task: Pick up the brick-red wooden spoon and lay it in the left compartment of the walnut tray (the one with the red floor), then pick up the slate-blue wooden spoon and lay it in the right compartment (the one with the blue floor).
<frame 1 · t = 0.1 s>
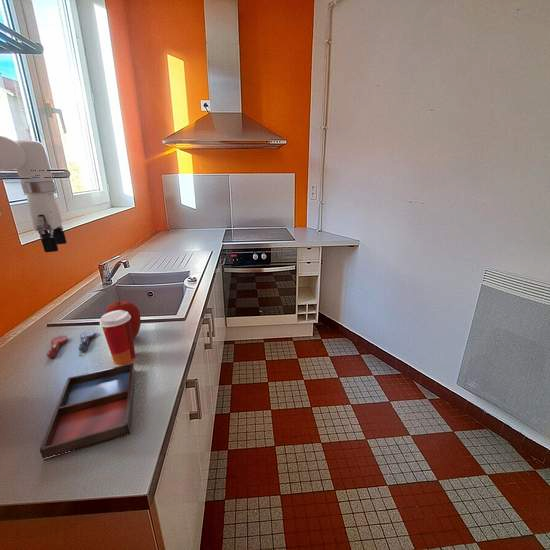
hand: (56, 247, 90), 29 cm above the worktop, tool pointing down, fingers open, 9 cm apart
paper cup: (124, 359, 86), on the worktop
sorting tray: (97, 407, 69), on the worktop
red spoon: (56, 349, 92), on the worktop
blue spoon: (86, 343, 94), on the worktop
apple: (127, 338, 97), on the worktop
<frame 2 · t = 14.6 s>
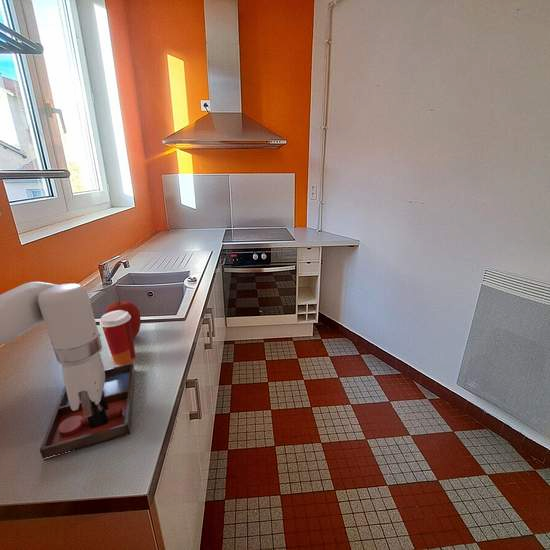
hand: (100, 419, 64), 1 cm above the worktop, tool pointing down, fingers closed on red spoon, 2 cm apart
red spoon: (95, 421, 64), point 1 cm above the worktop, touching gripper
everything else where it was.
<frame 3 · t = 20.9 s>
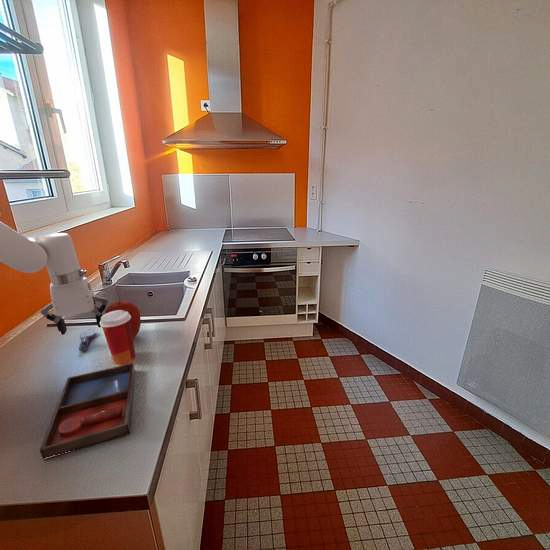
hand: (82, 328, 92), 6 cm above the worktop, tool pointing down, fingers open, 9 cm apart
red spoon: (95, 422, 64), point 1 cm above the worktop, touching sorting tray
apple: (127, 338, 97), on the worktop, touching gripper
everything else where it was.
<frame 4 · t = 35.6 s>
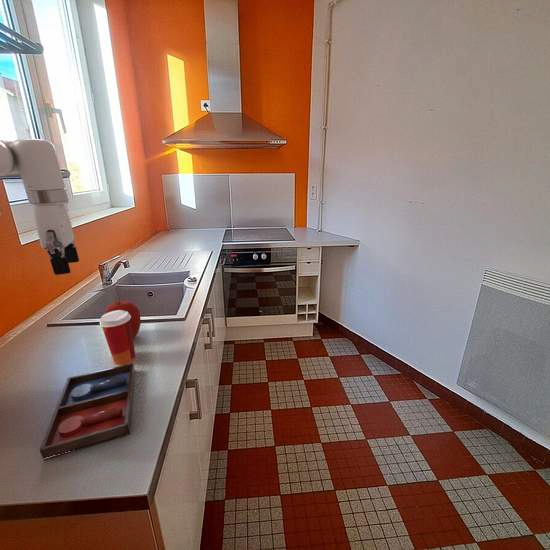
hand: (67, 267, 75), 28 cm above the worktop, tool pointing down, fingers open, 9 cm apart
blue spoon: (102, 389, 73), point 1 cm above the worktop, touching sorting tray
apple: (127, 338, 97), on the worktop
everything else where it was.
at the end: red spoon inside the target area on the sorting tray (0.5 cm from its centre), point 0.8 cm above the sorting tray's base; blue spoon inside the target area on the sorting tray (0.5 cm from its centre), point 0.8 cm above the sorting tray's base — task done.
